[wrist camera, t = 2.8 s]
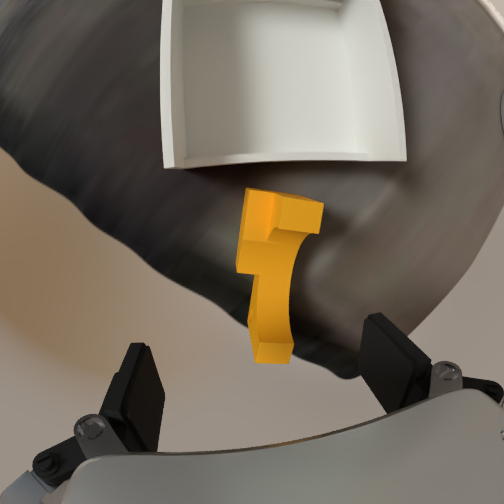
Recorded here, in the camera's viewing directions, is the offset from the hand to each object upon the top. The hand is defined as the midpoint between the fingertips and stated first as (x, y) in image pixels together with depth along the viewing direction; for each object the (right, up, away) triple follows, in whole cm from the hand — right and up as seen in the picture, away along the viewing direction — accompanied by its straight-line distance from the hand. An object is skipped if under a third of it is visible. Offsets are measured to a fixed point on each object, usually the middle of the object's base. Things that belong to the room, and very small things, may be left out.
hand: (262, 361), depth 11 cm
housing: (0, +27, +6) cm, 28 cm away
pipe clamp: (0, +4, +13) cm, 14 cm away
